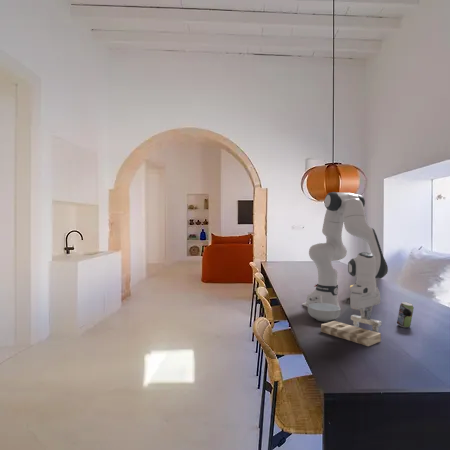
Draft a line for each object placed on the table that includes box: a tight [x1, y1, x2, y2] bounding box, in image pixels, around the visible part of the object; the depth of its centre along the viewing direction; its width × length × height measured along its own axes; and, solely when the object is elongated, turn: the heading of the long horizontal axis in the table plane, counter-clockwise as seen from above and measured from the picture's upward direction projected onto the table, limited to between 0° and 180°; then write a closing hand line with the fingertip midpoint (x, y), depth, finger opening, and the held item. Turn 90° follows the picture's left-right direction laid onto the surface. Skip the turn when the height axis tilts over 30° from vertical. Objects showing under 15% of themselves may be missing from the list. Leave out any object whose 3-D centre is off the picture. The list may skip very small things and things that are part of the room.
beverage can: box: [396, 301, 415, 328], centre depth 175 cm, size 6×7×12 cm
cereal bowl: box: [307, 303, 342, 323], centre depth 187 cm, size 17×17×7 cm
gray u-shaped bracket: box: [350, 308, 382, 333], centre depth 168 cm, size 14×3×10 cm, turn 37°
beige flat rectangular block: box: [320, 320, 382, 347], centre depth 160 cm, size 24×10×4 cm, turn 37°
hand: (365, 316), depth 168 cm, fingers closed on gray u-shaped bracket, 3 cm apart
